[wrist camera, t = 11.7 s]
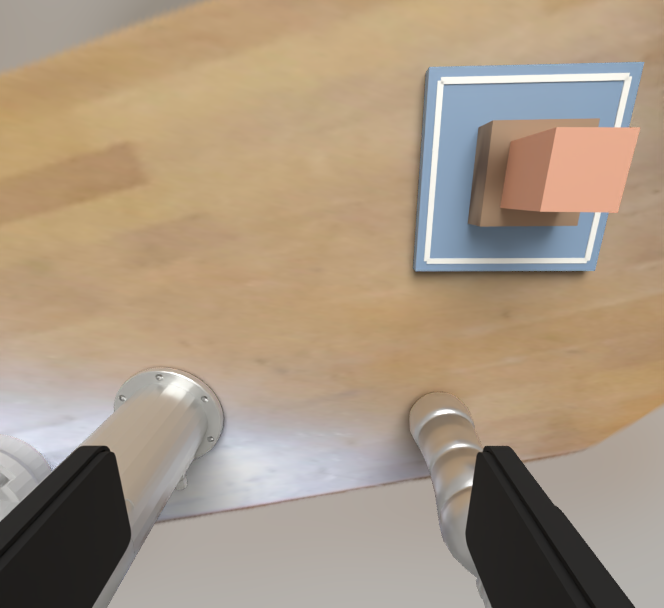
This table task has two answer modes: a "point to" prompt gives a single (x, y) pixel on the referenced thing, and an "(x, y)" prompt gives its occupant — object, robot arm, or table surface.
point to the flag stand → (18, 471)
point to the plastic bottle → (449, 467)
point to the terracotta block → (569, 169)
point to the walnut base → (493, 169)
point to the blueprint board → (459, 156)
